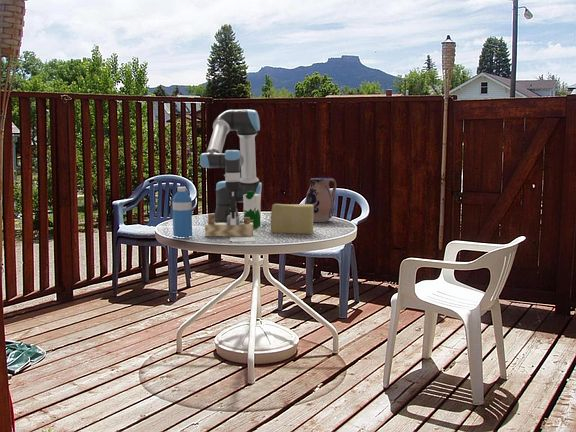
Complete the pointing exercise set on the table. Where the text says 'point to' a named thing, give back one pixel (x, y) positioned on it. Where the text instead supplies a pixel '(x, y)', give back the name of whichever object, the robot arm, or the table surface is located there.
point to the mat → (242, 239)
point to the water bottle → (182, 213)
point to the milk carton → (252, 208)
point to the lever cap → (229, 220)
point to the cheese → (292, 218)
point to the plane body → (228, 228)
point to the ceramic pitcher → (321, 198)
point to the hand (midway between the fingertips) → (233, 223)
